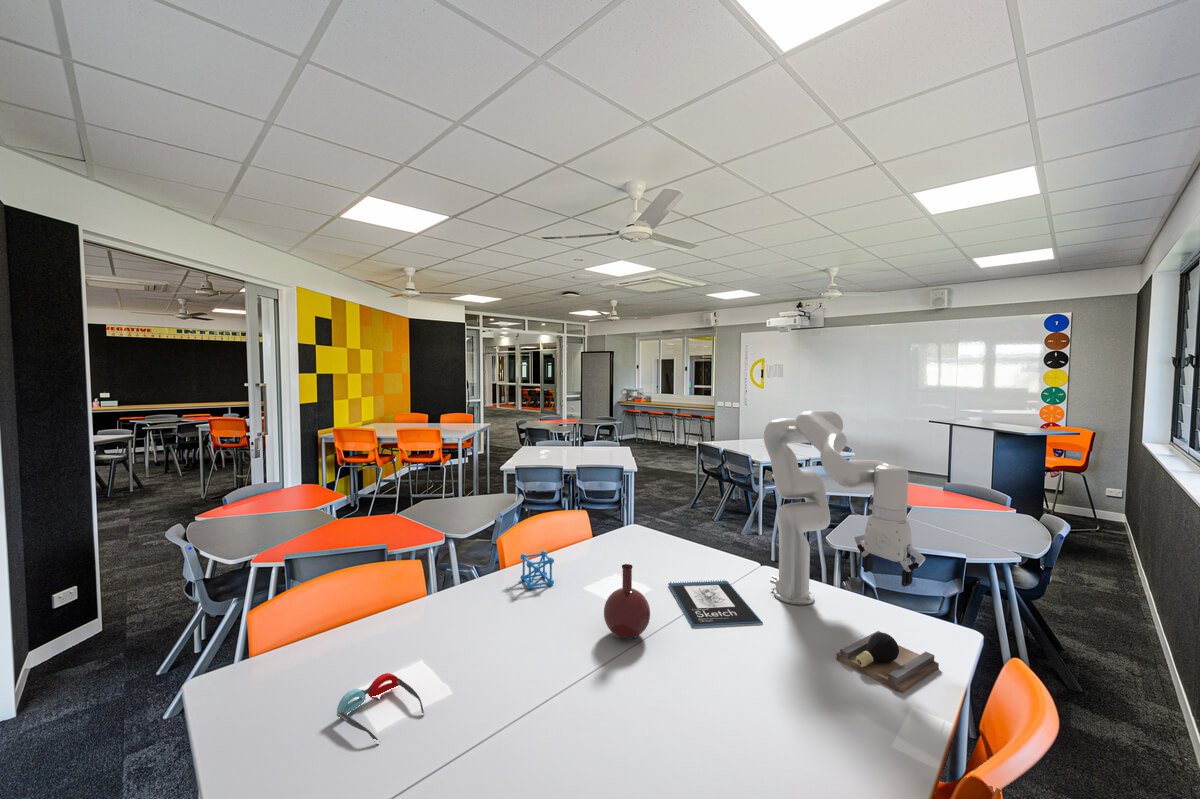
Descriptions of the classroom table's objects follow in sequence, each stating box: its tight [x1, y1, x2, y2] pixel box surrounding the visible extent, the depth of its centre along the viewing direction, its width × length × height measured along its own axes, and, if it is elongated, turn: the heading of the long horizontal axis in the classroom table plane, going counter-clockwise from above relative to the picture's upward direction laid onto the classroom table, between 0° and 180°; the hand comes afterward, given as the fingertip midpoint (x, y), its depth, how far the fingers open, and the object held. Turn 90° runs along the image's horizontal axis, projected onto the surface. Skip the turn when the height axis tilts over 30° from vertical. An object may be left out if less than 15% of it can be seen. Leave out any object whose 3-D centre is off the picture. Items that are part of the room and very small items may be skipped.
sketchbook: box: [667, 579, 764, 629], centre depth 156 cm, size 22×30×2 cm
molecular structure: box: [519, 550, 555, 590], centre depth 171 cm, size 10×10×10 cm
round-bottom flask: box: [603, 563, 651, 640], centre depth 136 cm, size 13×13×20 cm
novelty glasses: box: [336, 672, 425, 740], centre depth 103 cm, size 14×15×5 cm
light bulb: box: [856, 631, 900, 667], centre depth 121 cm, size 7×7×12 cm
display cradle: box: [835, 630, 940, 693], centre depth 123 cm, size 16×18×3 cm
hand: (886, 577), depth 125 cm, fingers open, 9 cm apart
